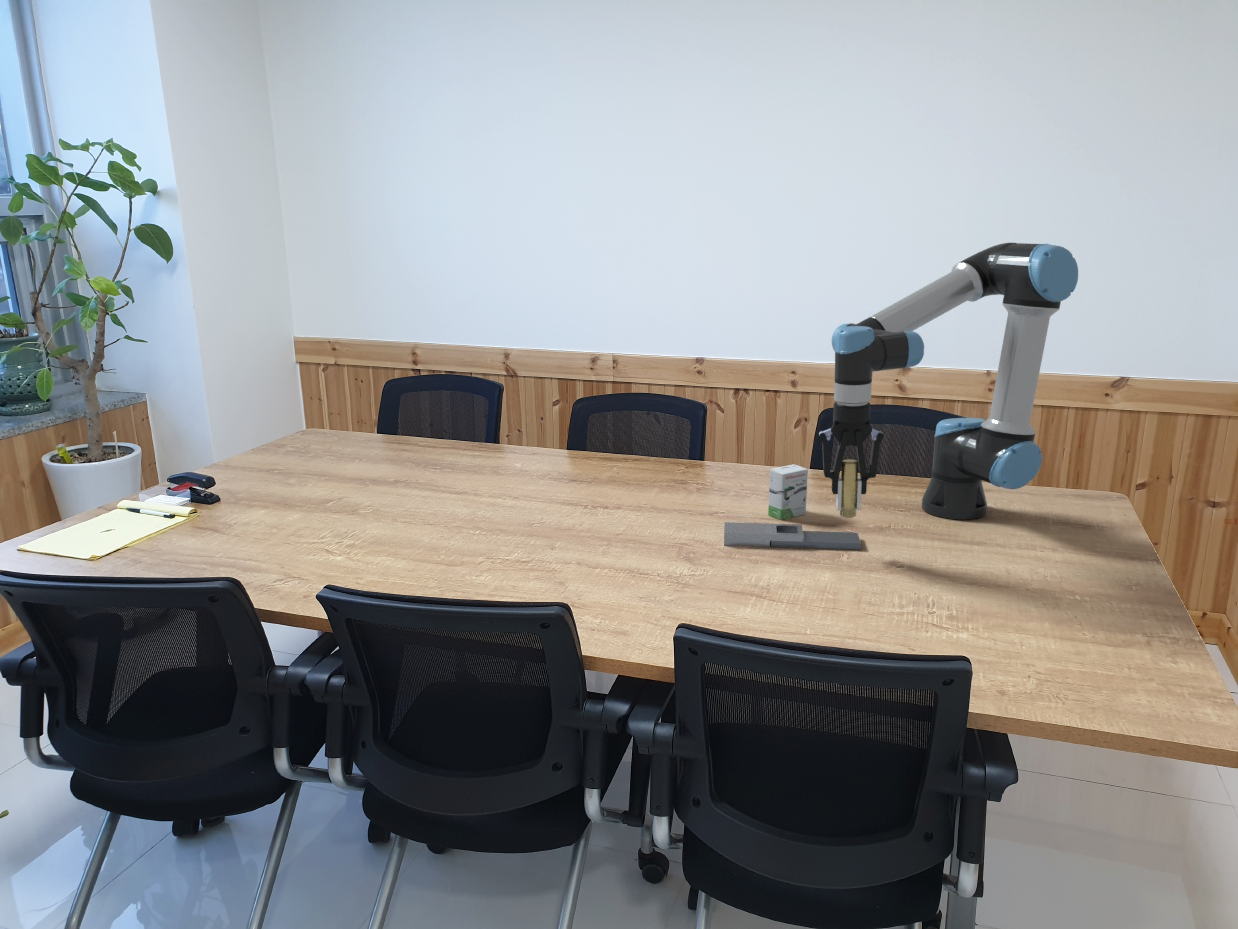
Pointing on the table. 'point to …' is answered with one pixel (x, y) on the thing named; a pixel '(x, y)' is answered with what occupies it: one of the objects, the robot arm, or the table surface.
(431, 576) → the table surface
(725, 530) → the chain end grey
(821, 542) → the chain end dark
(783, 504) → the ink box
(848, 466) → the pin
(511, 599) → the table surface
